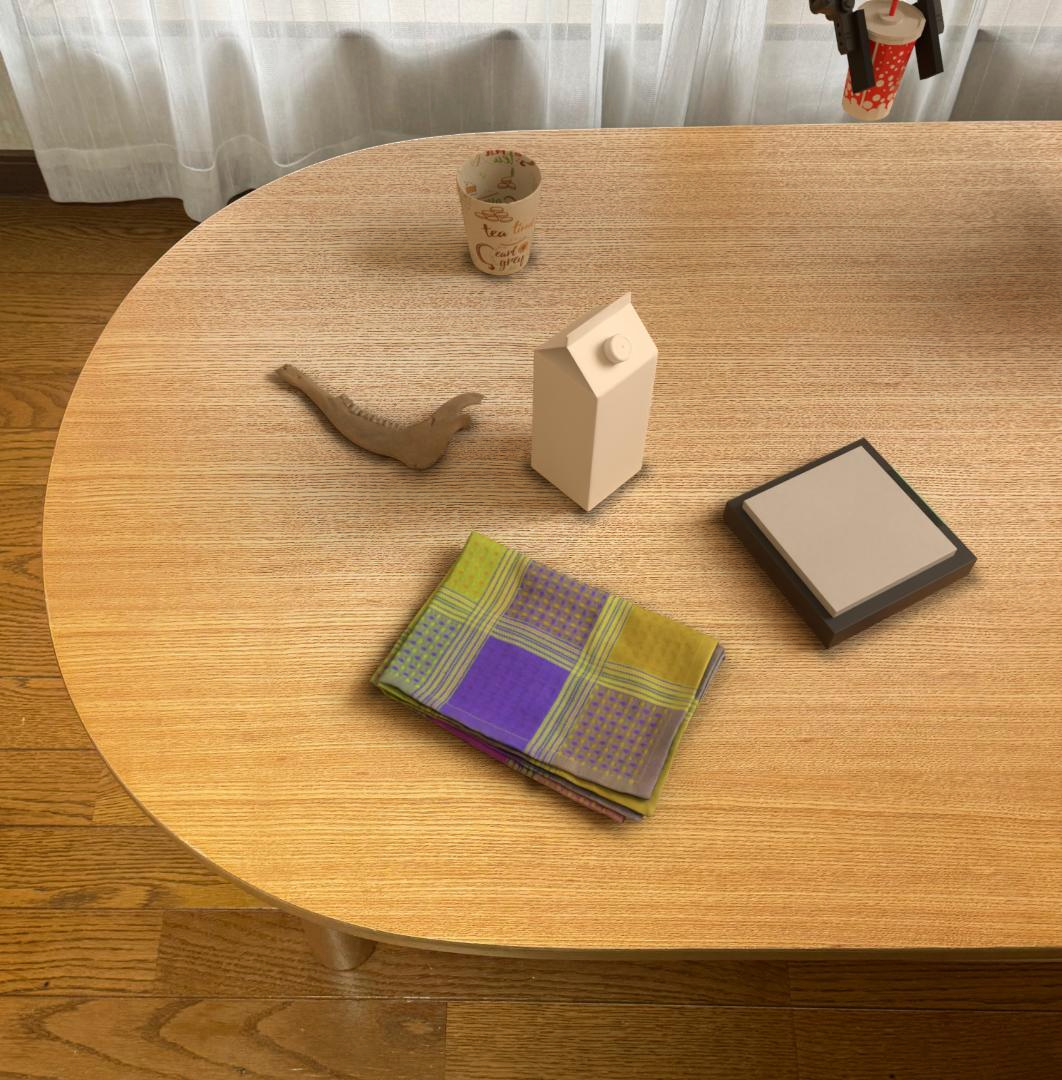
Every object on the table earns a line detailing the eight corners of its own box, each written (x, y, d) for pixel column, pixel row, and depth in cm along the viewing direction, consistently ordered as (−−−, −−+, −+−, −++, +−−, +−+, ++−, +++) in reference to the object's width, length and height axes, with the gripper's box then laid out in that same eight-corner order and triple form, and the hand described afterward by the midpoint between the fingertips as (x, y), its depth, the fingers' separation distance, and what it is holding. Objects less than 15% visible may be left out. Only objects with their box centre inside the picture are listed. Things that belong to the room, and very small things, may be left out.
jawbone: (463, 484, 105) (461, 471, 103) (246, 446, 107) (241, 433, 105) (487, 404, 109) (485, 391, 107) (278, 370, 112) (274, 356, 110)
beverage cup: (907, 99, 112) (952, -45, 100) (884, 133, 109) (928, -12, 97) (848, 79, 114) (885, -65, 102) (823, 112, 111) (859, -33, 99)
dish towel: (477, 535, 101) (476, 516, 99) (737, 657, 94) (743, 640, 92) (363, 693, 92) (359, 676, 90) (642, 840, 85) (645, 826, 83)
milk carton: (530, 468, 105) (533, 312, 90) (585, 426, 108) (597, 268, 93) (587, 514, 102) (601, 361, 87) (642, 469, 105) (664, 314, 90)
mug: (450, 276, 119) (445, 196, 111) (482, 198, 127) (480, 118, 118) (529, 290, 118) (530, 210, 110) (557, 211, 126) (560, 131, 117)
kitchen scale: (858, 454, 107) (867, 429, 104) (969, 574, 99) (983, 551, 96) (721, 518, 102) (727, 494, 99) (827, 649, 95) (837, 627, 92)
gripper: (928, -190, 106) (966, 73, 111) (736, -160, 103) (783, 111, 107) (978, -230, 99) (1016, 53, 104) (774, -200, 95) (822, 93, 100)
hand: (898, 82), depth 105 cm, fingers closed on beverage cup, 6 cm apart
